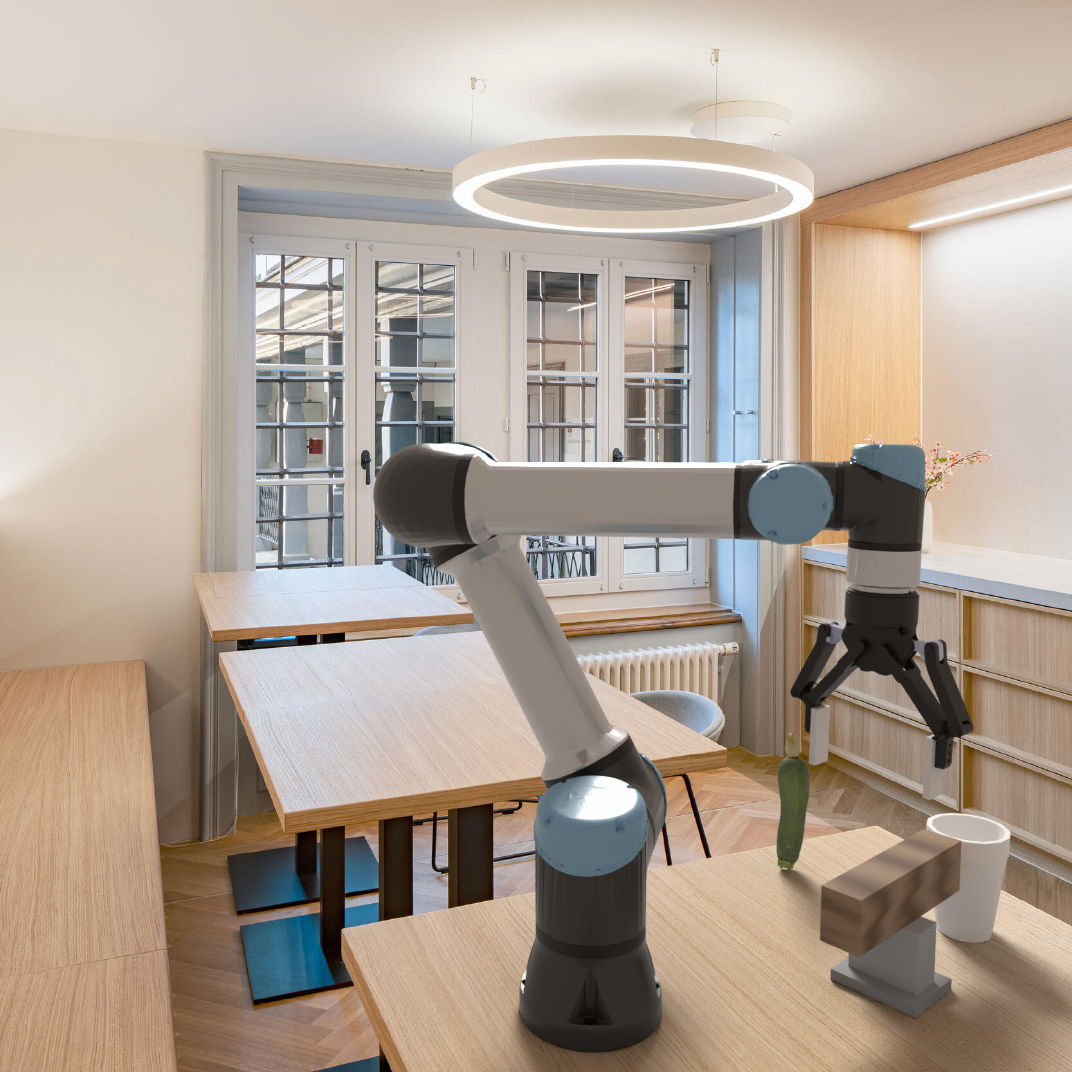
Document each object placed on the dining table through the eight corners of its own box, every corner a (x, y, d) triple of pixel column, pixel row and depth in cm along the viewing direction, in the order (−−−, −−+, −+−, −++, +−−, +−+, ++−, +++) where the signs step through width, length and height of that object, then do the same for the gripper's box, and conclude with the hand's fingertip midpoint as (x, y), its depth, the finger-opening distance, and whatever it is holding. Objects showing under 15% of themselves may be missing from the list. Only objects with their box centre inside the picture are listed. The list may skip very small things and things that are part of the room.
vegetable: (783, 859, 139) (786, 723, 138) (812, 867, 137) (816, 729, 135) (770, 869, 136) (773, 731, 134) (799, 878, 133) (802, 736, 131)
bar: (859, 957, 98) (860, 900, 97) (819, 940, 101) (821, 885, 101) (959, 890, 112) (961, 840, 112) (922, 877, 116) (924, 829, 115)
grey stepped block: (915, 1018, 101) (918, 945, 100) (830, 978, 108) (832, 910, 108) (951, 989, 106) (954, 919, 105) (867, 953, 114) (869, 888, 113)
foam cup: (928, 943, 116) (932, 839, 115) (917, 907, 125) (920, 810, 124) (1014, 953, 114) (1019, 846, 112) (997, 916, 123) (1001, 817, 121)
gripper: (1016, 599, 97) (1003, 803, 99) (802, 571, 116) (794, 743, 118) (982, 607, 92) (969, 821, 94) (764, 576, 111) (757, 756, 113)
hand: (872, 778), depth 106 cm, fingers open, 13 cm apart
